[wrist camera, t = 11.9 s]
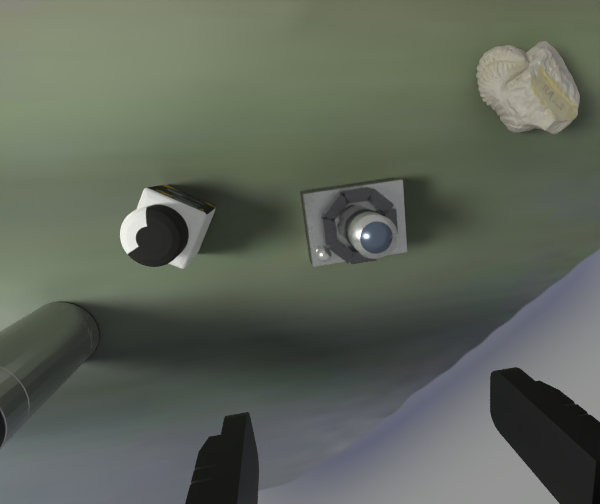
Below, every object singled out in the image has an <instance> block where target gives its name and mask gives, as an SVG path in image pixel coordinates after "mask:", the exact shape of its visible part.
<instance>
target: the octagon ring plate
mask: <svg viewBox="0 0 600 504" xmlns="http://www.w3.org/2000/svg"><path fill="white" fill-rule="evenodd" d="M300 194H301V201H302V208H303V216H304V223H305V230H306V238H307V245H308V252H309V258H310V261H311V264H312V265H313V267H314V266H320V265H327V264H333V263H340V262H347V263H348V262H349V261H350V262H351V263H352V264H356V263H362V262H369V261H375V260H377V259H371V258H367V257H365V256H363V255H362V254H360V253H359V252H358V251H357V250H355V249H354V248H353V247H352V246H351V245H350V244H349V243H348V241H347V240H346V239H345V238H344V236H343V235H342V234H341V232H340V229H339V220H340V217H341V215H342V214H343V213H344V212H345V211H346V210H347V209H348V208H350V207H353V206H362V207H365V208H367V209H371V210H374V211H376V212H378V213H380V214H382V215H383V216H385V217H387V218H388V219H390V220H391V221H392V222H393V223H394V225H395V226H396V229H397V233H398V238H397V243H396V245H395V247H394V249H393V250H392V251H391V252H390V253H389V254H388V255H391V254H398V253H404V252H407V241H406V224H405V207H404V191H403V180H401V179H396V178H387V179H380V180H373V181H367V182H360V183H353V184H346V185H339V186H332V187H326V188H319V189H312V190H305V191H300Z"/></svg>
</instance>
